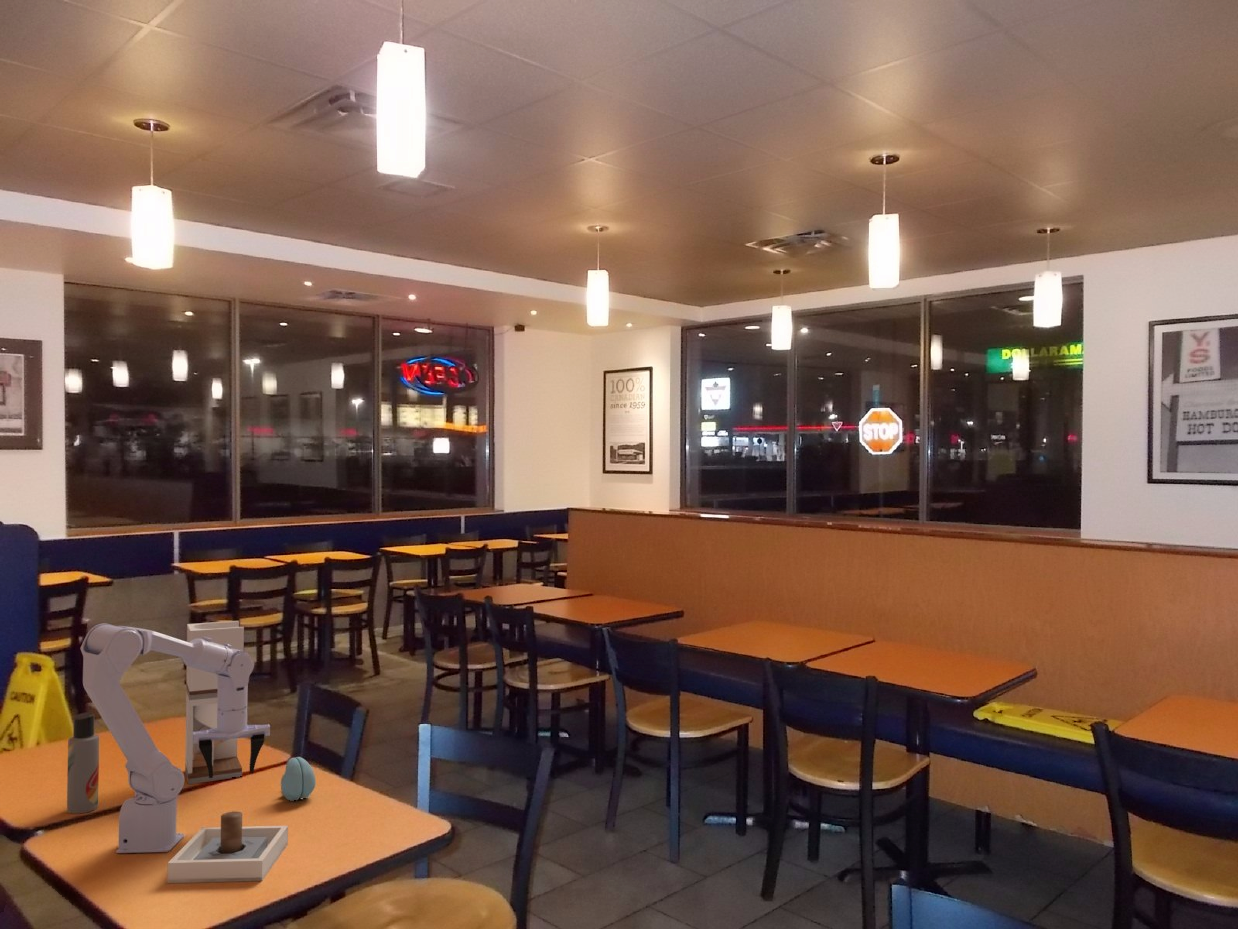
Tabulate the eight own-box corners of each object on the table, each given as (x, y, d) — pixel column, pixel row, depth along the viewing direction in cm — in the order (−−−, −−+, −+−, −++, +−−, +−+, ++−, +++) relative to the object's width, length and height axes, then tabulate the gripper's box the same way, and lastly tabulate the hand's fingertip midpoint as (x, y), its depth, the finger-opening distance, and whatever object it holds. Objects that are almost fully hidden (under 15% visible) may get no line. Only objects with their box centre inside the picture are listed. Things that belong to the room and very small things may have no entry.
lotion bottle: (104, 805, 195) (105, 711, 195) (86, 815, 190) (87, 718, 190) (79, 804, 196) (80, 710, 196) (60, 813, 190) (62, 717, 190)
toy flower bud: (301, 749, 209) (319, 758, 200) (301, 789, 208) (320, 800, 199) (269, 755, 205) (286, 764, 195) (269, 795, 204) (286, 807, 195)
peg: (217, 863, 165) (218, 819, 165) (224, 855, 169) (225, 811, 169) (237, 863, 165) (238, 818, 165) (244, 854, 169) (245, 811, 169)
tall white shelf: (188, 784, 209) (190, 631, 209) (185, 771, 218) (187, 624, 218) (241, 776, 214) (243, 627, 215) (236, 764, 223) (238, 620, 224)
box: (167, 883, 158) (167, 863, 158) (202, 846, 174) (202, 827, 174) (262, 880, 160) (262, 860, 160) (287, 844, 176) (288, 825, 176)
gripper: (193, 716, 181) (192, 785, 181) (271, 708, 187) (270, 775, 187) (193, 707, 187) (192, 774, 187) (269, 701, 193) (268, 765, 193)
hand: (231, 774), depth 187 cm, fingers open, 7 cm apart
